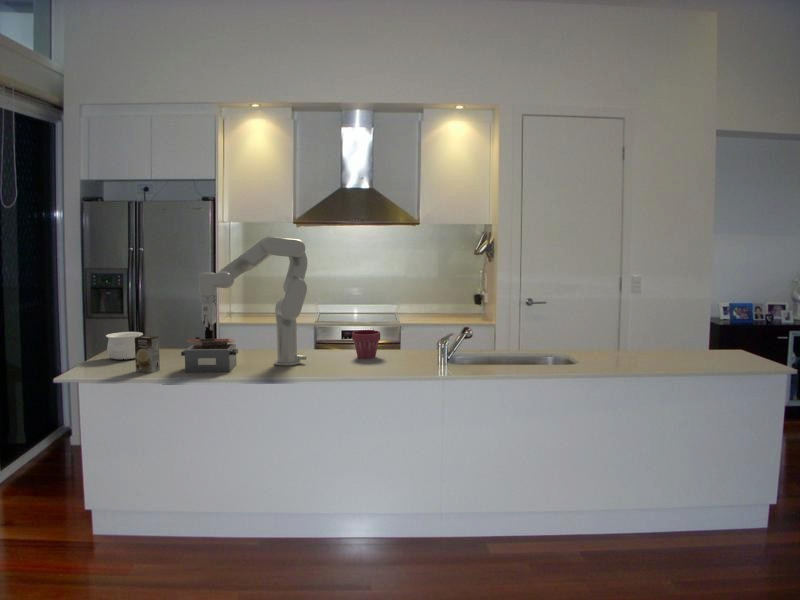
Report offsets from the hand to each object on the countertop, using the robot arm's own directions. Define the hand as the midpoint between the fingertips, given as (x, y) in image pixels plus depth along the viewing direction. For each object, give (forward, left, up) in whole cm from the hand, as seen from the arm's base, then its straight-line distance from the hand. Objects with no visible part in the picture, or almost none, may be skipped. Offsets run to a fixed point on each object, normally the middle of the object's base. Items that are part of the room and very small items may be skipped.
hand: (209, 338), depth 322 cm
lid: (0, -3, -2) cm, 4 cm away
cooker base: (0, -2, -14) cm, 15 cm away
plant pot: (-72, -26, -15) cm, 78 cm away
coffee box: (+28, +2, -15) cm, 31 cm away
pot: (+49, -31, -15) cm, 60 cm away
